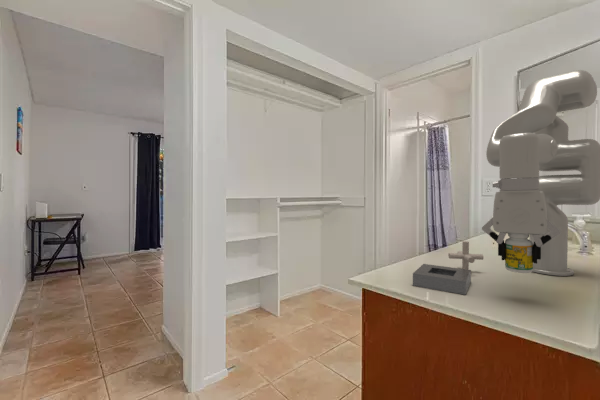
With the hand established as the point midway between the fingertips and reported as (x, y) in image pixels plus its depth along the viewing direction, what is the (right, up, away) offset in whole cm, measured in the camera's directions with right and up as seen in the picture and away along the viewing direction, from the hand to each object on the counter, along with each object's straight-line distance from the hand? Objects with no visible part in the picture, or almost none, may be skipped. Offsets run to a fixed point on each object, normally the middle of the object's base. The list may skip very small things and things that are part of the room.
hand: (518, 259), depth 69 cm
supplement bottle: (0, -3, 0) cm, 3 cm away
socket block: (-12, -10, +13) cm, 20 cm away
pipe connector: (+2, -9, +25) cm, 27 cm away
